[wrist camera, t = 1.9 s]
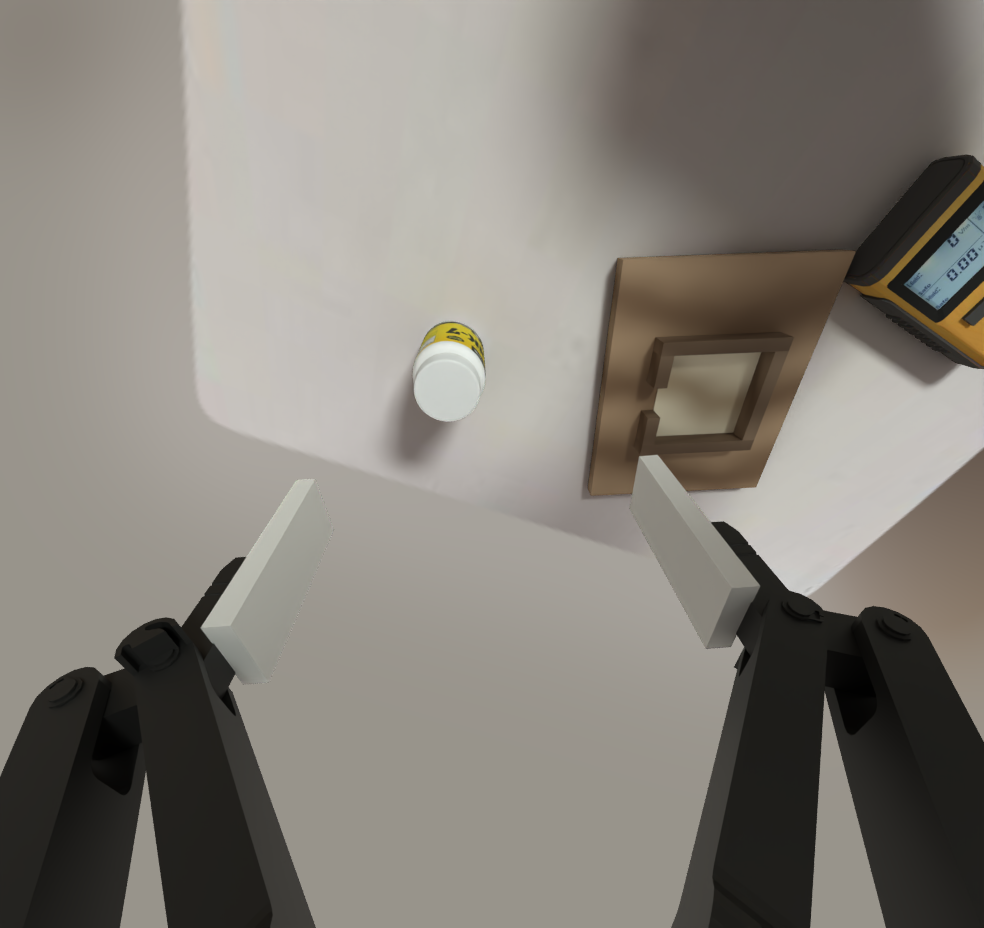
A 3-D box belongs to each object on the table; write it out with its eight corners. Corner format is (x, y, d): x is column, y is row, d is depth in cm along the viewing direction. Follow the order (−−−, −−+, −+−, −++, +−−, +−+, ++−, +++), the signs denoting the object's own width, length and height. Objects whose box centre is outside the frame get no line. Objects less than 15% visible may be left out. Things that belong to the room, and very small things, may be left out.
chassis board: (617, 258, 27) (631, 262, 25) (841, 249, 28) (875, 252, 25) (587, 488, 38) (595, 505, 36) (748, 479, 38) (765, 496, 36)
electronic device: (946, 365, 33) (990, 379, 31) (825, 280, 29) (863, 288, 26) (1056, 266, 29) (1119, 272, 27) (935, 150, 25) (994, 143, 22)
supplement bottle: (496, 348, 30) (503, 390, 23) (457, 391, 32) (453, 442, 25) (447, 305, 28) (440, 335, 21) (409, 353, 30) (390, 396, 23)
